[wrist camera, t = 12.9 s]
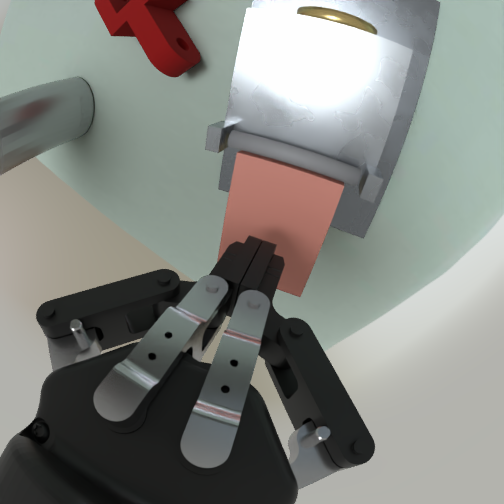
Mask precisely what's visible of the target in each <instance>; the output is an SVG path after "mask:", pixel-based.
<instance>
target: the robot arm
mask: <svg viewBox="0 0 504 504" xmlns="http://www.w3.org/2000/svg"><path fill="white" fill-rule="evenodd" d="M93 110H94V105H93V97H92V93H91V90H90V88H89V86H88V84H87V83H86V82H85V80H83V79H82V78H79V77H73V78H68V79H63V80H59V81H54V82H50V83H46V84H42V85H38V86H35V87H31V88H28V89H25V90H22V91H19V92H15V93H13V94H10V95H7V96H4V97H1V98H0V175H2V174H4V173H5V172H7V171H9V170H11V169H12V168H14V167H16V166H18V165H20V164H22V163H23V162H26V161H27V160H29V159H31V158H33V157H35V156H37V155H39V154H41V153H44V152H46V151H48V150H50V149H52V148H54V147H57V146H59V145H61V144H64V143H66V142H68V141H71V140H73V139H75V138H78V137H80V136H82V135H84V134H85V133H86V132H87V130H88V129H89V127H90V124H91V122H92V118H93ZM276 246H277V244H274V243H271V242H268V241H265V240H262V239H259V238H256V237H253V236H250V235H249V236H248V238H247V239H246V241H245V243H241V242H238V241H236V242H234V243H232V244H230V245H229V246H228V248H227V249H226V250H225V253H223V255H222V257H221V258H220V259H219V261H218V262H217V264H216V265H215V267H214V268H213V270H212V271H211V273H210V274H209V275H207V276H204V277H202V278H200V279H199V280H198V281H197V282H188V281H180V279H179V276H178V275H177V273H175V272H174V271H172V270H169V269H160V270H157V271H153V272H149V273H146V274H142V275H138V276H135V277H131V278H128V279H124V280H121V281H117V282H113V283H110V284H106V285H103V286H99V287H96V288H92V289H89V290H85V291H82V292H78V293H75V294H72V295H68V296H64V297H61V298H57V299H54V300H50V301H47V302H45V303H43V304H42V305H41V306H40V307H39V309H38V311H37V314H36V319H37V321H38V323H39V325H40V326H41V328H42V330H43V332H44V334H45V336H46V337H47V340H48V347H49V353H50V358H51V363H52V369H53V372H52V373H51V374H50V375H49V376H48V377H47V378H46V380H45V381H44V383H43V386H42V390H41V397H40V403H39V408H38V411H37V414H36V417H35V419H34V420H33V421H32V423H31V424H30V425H28V426H27V427H26V428H25V429H24V430H22V431H21V432H19V433H18V434H16V435H15V436H14V437H13V438H12V439H11V440H10V441H9V443H8V445H7V447H6V448H5V450H4V451H3V453H2V455H1V457H0V504H294V503H295V501H296V498H297V494H298V489H301V488H303V487H305V486H307V485H310V484H312V483H314V482H316V481H318V480H320V479H322V478H324V477H327V476H328V475H331V474H332V473H334V472H337V471H340V470H344V469H347V468H351V467H354V466H357V465H360V464H363V463H366V462H367V461H369V460H370V459H371V457H372V456H373V454H374V450H375V444H374V440H373V438H372V436H371V435H370V433H369V431H368V429H367V427H366V426H365V424H364V422H363V420H362V418H361V417H360V415H359V413H358V411H357V409H356V407H355V406H354V404H353V402H352V400H351V399H350V397H349V395H348V393H347V391H346V390H345V388H344V386H343V384H342V383H341V381H340V379H339V377H338V375H337V374H336V372H335V370H334V368H333V366H332V365H331V363H330V361H329V359H328V358H327V356H326V354H325V352H324V351H323V349H322V347H321V345H320V344H319V342H318V340H317V338H316V337H315V335H314V333H313V331H312V330H311V328H310V326H309V325H308V324H307V323H306V322H305V321H303V320H301V319H298V318H288V319H285V318H283V317H282V316H280V315H279V314H278V313H277V312H276V311H275V309H274V307H273V304H272V300H273V297H274V294H275V291H276V288H277V286H278V283H279V280H280V277H281V274H282V272H283V269H284V266H285V263H284V259H283V257H281V256H278V255H275V254H274V253H275V250H276ZM226 315H227V316H230V317H231V319H230V322H229V324H228V327H227V329H226V330H225V331H224V333H223V336H222V338H221V341H220V343H219V346H218V349H217V351H216V354H215V357H214V359H213V362H212V364H209V363H204V362H201V360H202V357H203V355H204V353H205V352H206V350H207V349H208V347H209V346H210V344H211V342H212V341H213V339H214V338H215V336H216V335H217V333H218V332H219V330H220V328H221V326H222V323H223V321H224V319H225V317H226ZM140 338H142V339H141V341H140V342H136V343H132V344H129V345H126V346H123V347H120V348H118V349H115V350H112V351H109V352H106V353H104V354H101V351H102V350H105V349H109V348H112V347H115V346H118V345H122V344H124V343H127V342H131V341H134V340H137V339H140ZM100 354H101V355H100ZM258 355H259V356H260V357H262V358H263V359H265V364H266V367H267V369H268V371H269V374H270V376H271V378H272V381H273V383H274V385H275V387H276V389H277V392H278V394H279V396H280V398H281V400H282V403H283V405H284V407H285V409H286V411H287V413H288V416H289V418H290V420H291V422H292V424H293V426H294V428H295V430H296V431H294V432H293V433H292V434H291V436H290V437H289V440H288V446H289V449H290V458H289V460H288V459H287V456H286V454H285V452H284V449H283V447H282V444H281V442H280V439H279V437H278V434H277V432H276V429H275V427H274V424H273V422H272V419H271V417H270V414H269V412H268V409H267V407H266V404H265V402H264V400H263V398H262V396H261V395H260V394H259V392H258V391H257V390H256V389H255V388H254V387H253V386H252V385H251V384H250V381H251V378H252V375H253V371H254V368H255V364H256V360H257V357H258Z"/></svg>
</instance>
